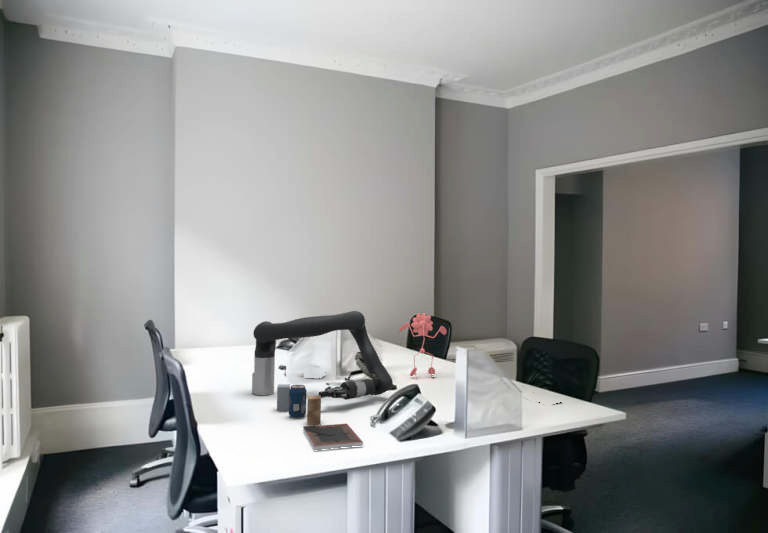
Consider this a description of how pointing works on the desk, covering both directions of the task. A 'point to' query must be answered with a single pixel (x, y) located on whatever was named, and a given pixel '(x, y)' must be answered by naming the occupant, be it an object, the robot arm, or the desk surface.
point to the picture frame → (331, 436)
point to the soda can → (297, 401)
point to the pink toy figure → (422, 327)
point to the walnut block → (314, 410)
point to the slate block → (283, 397)
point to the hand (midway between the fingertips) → (319, 395)
